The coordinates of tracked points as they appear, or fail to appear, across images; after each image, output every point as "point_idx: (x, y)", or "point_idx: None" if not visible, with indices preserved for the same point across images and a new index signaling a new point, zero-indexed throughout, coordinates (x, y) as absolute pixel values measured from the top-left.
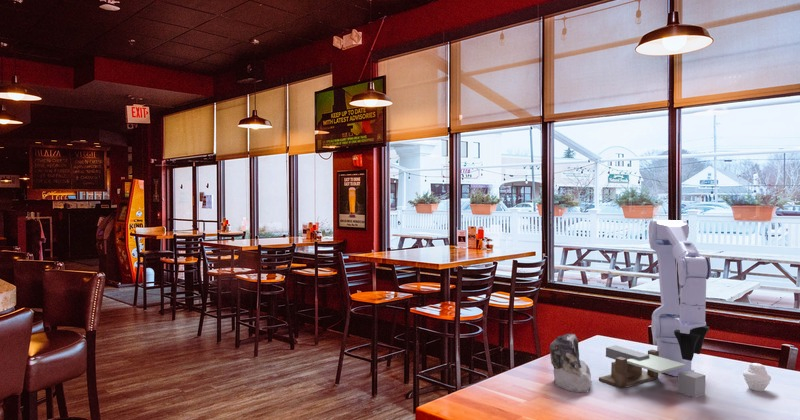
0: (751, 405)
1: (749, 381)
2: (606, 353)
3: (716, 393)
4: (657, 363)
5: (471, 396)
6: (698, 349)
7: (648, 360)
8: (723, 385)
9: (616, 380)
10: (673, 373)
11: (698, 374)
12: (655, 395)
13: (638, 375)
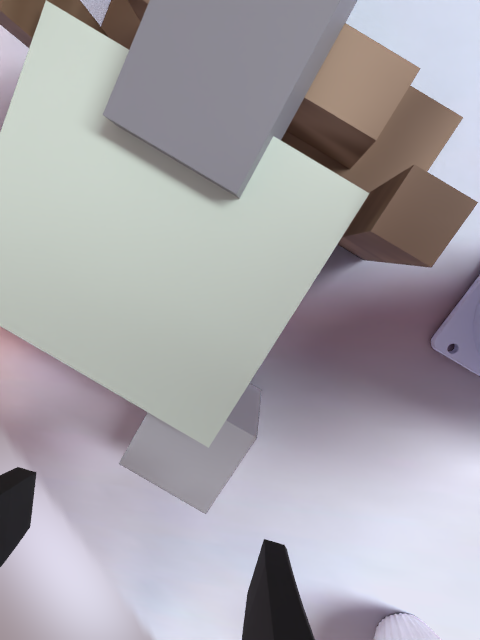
0: (184, 580)
1: None
2: None
3: (260, 491)
4: (112, 269)
5: None
6: (244, 634)
7: (155, 198)
8: (393, 529)
9: None
10: (459, 335)
11: (197, 482)
12: None
13: (308, 154)
